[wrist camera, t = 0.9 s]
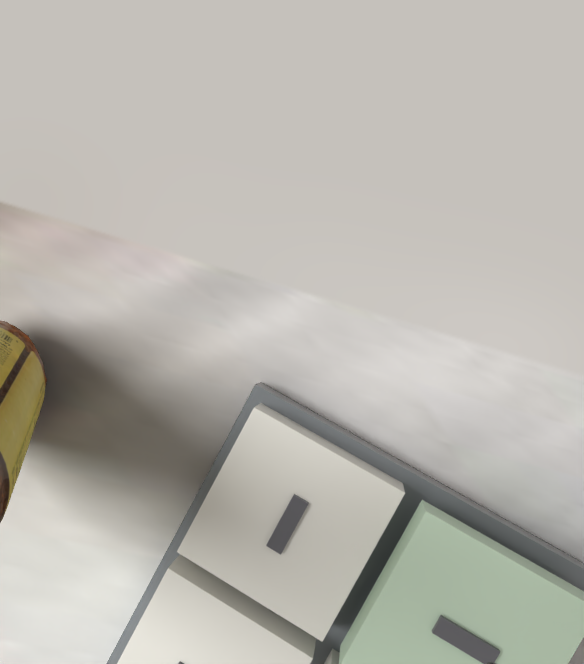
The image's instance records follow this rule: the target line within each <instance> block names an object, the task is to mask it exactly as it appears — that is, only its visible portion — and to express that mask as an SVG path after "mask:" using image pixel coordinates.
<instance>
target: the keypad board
mask: <svg viewBox="0 0 584 664" xmlns="http://www.w3.org/2000/svg"><path fill="white" fill-rule="evenodd" d="M422 500H424V501H425V502H427V503H429V504H431V505H432V506H434V507H436V508H438V509H439V510H441V511H443V512H445V513H446V514H448V515H450V516H452V517H454V518H455V519H457V520H459V521H461V522H462V523H464V524H466V525H468V526H469V527H471V528H473V529H475V530H476V531H478V532H480V533H482V534H483V535H485V536H487V537H489V538H491V539H492V540H494V541H496V542H498V543H499V544H501V545H503V546H505V547H506V548H508V549H510V550H512V551H513V552H515V553H517V554H519V555H520V556H522V557H524V558H526V559H528V560H529V561H531V562H533V563H535V564H536V565H538V566H540V567H542V568H543V569H545V570H547V571H549V572H550V573H552V574H554V575H556V576H558V577H559V578H561V579H563V580H565V581H566V582H568V583H570V584H572V585H573V586H575V587H577V588H579V589H580V590H582V591H584V564H583V563H582V562H580V561H579V560H577V559H575V558H573V557H571V556H570V555H568V554H566V553H564V552H563V551H561V550H559V549H557V548H555V547H554V546H552V545H550V544H548V543H547V542H545V541H543V540H541V539H539V538H538V537H536V536H534V535H532V534H530V533H529V532H527V531H525V530H523V529H522V528H520V527H518V526H516V525H514V524H513V523H511V522H509V521H507V520H505V519H504V518H502V517H500V516H498V515H497V514H495V513H493V512H491V511H489V510H488V509H486V508H484V507H482V506H480V505H479V504H477V503H475V502H473V501H472V500H470V499H468V498H466V497H464V496H463V495H461V494H459V493H457V492H456V491H454V490H452V489H450V488H448V487H447V486H445V485H443V484H441V483H439V482H438V481H436V480H434V479H432V478H431V477H429V476H427V475H425V474H423V473H422V472H420V471H418V470H416V469H414V468H413V467H411V466H409V465H407V464H406V463H404V462H402V461H400V460H398V459H397V458H395V457H393V456H391V455H390V454H388V453H386V452H384V451H382V450H381V449H379V448H377V447H375V446H373V445H372V444H370V443H368V442H366V441H365V440H363V439H361V438H359V437H357V436H356V435H354V434H352V433H350V432H348V431H347V430H345V429H343V428H341V427H340V426H338V425H336V424H334V423H332V422H331V421H329V420H327V419H325V418H324V417H322V416H320V415H318V414H316V413H315V412H313V411H311V410H309V409H307V408H306V407H304V406H302V405H300V404H299V403H297V402H295V401H293V400H291V399H290V398H288V397H286V396H284V395H282V394H281V393H279V392H277V391H275V390H274V389H272V388H270V387H268V386H266V385H265V384H263V383H261V382H260V383H258V384H256V385H255V386H254V388H253V390H252V392H251V394H250V396H249V398H248V400H247V401H246V403H245V405H244V407H243V409H242V411H241V413H240V415H239V416H238V418H237V420H236V422H235V424H234V426H233V428H232V430H231V431H230V433H229V435H228V437H227V439H226V441H225V443H224V445H223V446H222V448H221V450H220V452H219V454H218V456H217V458H216V460H215V461H214V463H213V465H212V467H211V469H210V471H209V473H208V475H207V476H206V478H205V480H204V482H203V484H202V486H201V488H200V490H199V491H198V493H197V495H196V497H195V499H194V501H193V503H192V505H191V506H190V508H189V510H188V512H187V514H186V516H185V518H184V520H183V521H182V523H181V525H180V527H179V529H178V531H177V533H176V535H175V536H174V538H173V540H172V542H171V544H170V546H169V548H168V550H167V551H166V553H165V555H164V557H163V559H162V561H161V563H160V565H159V566H158V568H157V570H156V572H155V574H154V576H153V578H152V579H151V581H150V583H149V585H148V587H147V589H146V591H145V593H144V594H143V596H142V598H141V600H140V602H139V604H138V606H137V608H136V609H135V611H134V613H133V615H132V617H131V619H130V621H129V623H128V624H127V626H126V628H125V630H124V632H123V634H122V636H121V638H120V639H119V641H118V643H117V645H116V647H115V649H114V651H113V653H112V654H111V656H110V658H109V660H108V662H107V664H339V655H340V645H341V643H342V642H343V640H344V638H345V636H346V635H347V633H348V631H349V629H350V627H351V626H352V624H353V622H354V620H355V618H356V617H357V615H358V613H359V611H360V610H361V608H362V606H363V604H364V602H365V601H366V599H367V597H368V595H369V593H370V592H371V590H372V588H373V586H374V585H375V583H376V581H377V579H378V577H379V576H380V574H381V572H382V570H383V568H384V567H385V565H386V563H387V561H388V560H389V558H390V556H391V554H392V552H393V551H394V549H395V547H396V545H397V543H398V542H399V540H400V538H401V536H402V534H403V533H404V531H405V529H406V527H407V526H408V524H409V522H410V520H411V518H412V517H413V515H414V513H415V511H416V509H417V508H418V506H419V504H420V502H421V501H422Z"/></svg>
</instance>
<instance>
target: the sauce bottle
mask: <svg viewBox="0 0 584 664" xmlns="http://www.w3.org/2000/svg"><path fill="white" fill-rule="evenodd" d="M46 382H47V379H46V376H45V372H44V365H43V363H42V360H41V358H40V356H39V353H38V351H37V349H36V348H35V346H34V344H33V343H32V341H31V340H30V338H29V337H28V336H27V335H26V334H24V333H23V332H22V331H21V330H19V329H18V328H17V327H15V326H13V325H11V324H9V323H7V322H5V321H0V522H1V521H2V519H3V517H4V514H5V512H6V509H7V506H8V503H9V500H10V497H11V494H12V492H13V489H14V486H15V483H16V480H17V478H18V475H19V472H20V469H21V466H22V463H23V460H24V457H25V455H26V452H27V449H28V446H29V443H30V440H31V436H32V434H33V431H34V428H35V425H36V422H37V419H38V416H39V413H40V410H41V407H42V404H43V400H44V395H45V386H46Z"/></svg>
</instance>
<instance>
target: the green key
mask: <svg viewBox="0 0 584 664" xmlns="http://www.w3.org/2000/svg"><path fill="white" fill-rule="evenodd" d="M583 638H584V591H582V590H580V589H579V588H577V587H575V586H573V585H572V584H570V583H568V582H566V581H565V580H563V579H561V578H559V577H558V576H556V575H554V574H552V573H550V572H549V571H547V570H545V569H543V568H542V567H540V566H538V565H536V564H535V563H533V562H531V561H529V560H528V559H526V558H524V557H522V556H520V555H519V554H517V553H515V552H513V551H512V550H510V549H508V548H506V547H505V546H503V545H501V544H499V543H498V542H496V541H494V540H492V539H491V538H489V537H487V536H485V535H483V534H482V533H480V532H478V531H476V530H475V529H473V528H471V527H469V526H468V525H466V524H464V523H462V522H461V521H459V520H457V519H455V518H454V517H452V516H450V515H448V514H446V513H445V512H443V511H441V510H439V509H438V508H436V507H434V506H432V505H431V504H429V503H427V502H425V501H424V500H422V501H421V502H420V504H419V506H418V508H417V509H416V511H415V513H414V515H413V517H412V518H411V520H410V522H409V524H408V526H407V527H406V529H405V531H404V533H403V534H402V536H401V538H400V540H399V542H398V543H397V545H396V547H395V549H394V551H393V552H392V554H391V556H390V558H389V560H388V561H387V563H386V565H385V567H384V568H383V570H382V572H381V574H380V576H379V577H378V579H377V581H376V583H375V585H374V586H373V588H372V590H371V592H370V593H369V595H368V597H367V599H366V601H365V602H364V604H363V606H362V608H361V610H360V611H359V613H358V615H357V617H356V618H355V620H354V622H353V624H352V626H351V627H350V629H349V631H348V633H347V635H346V636H345V638H344V640H343V642H342V643H341V645H340V655H339V664H486V663H488V662H494V663H496V664H568V663H569V661H570V660H571V658H572V656H573V655H574V653H575V651H576V650H577V648H578V646H579V644H580V643H581V641H582V639H583Z"/></svg>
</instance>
